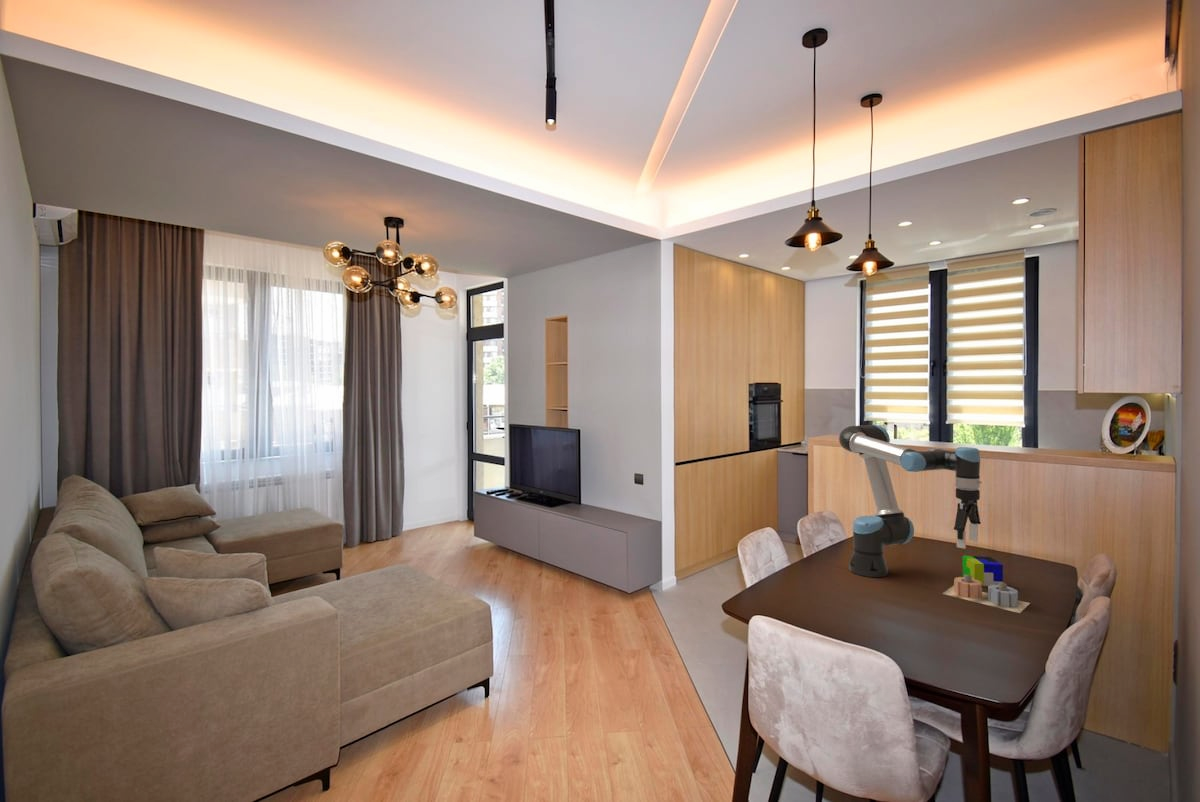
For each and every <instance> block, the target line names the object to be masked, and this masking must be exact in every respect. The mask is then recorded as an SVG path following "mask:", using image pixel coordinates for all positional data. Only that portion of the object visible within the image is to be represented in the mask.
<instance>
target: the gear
mask: <svg viewBox="0 0 1200 802" xmlns="http://www.w3.org/2000/svg"><path fill="white" fill-rule="evenodd" d="M987 593H988V600H989V602H991V603H992V604H995V605H1000V606H1002V607H1017V606H1018V600H1019V591H1018V590H1017V589H1015V588H1013V587H1011V586H1007V591H1001V590H999V585H997V586H996V585H989V586H987Z"/></svg>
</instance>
